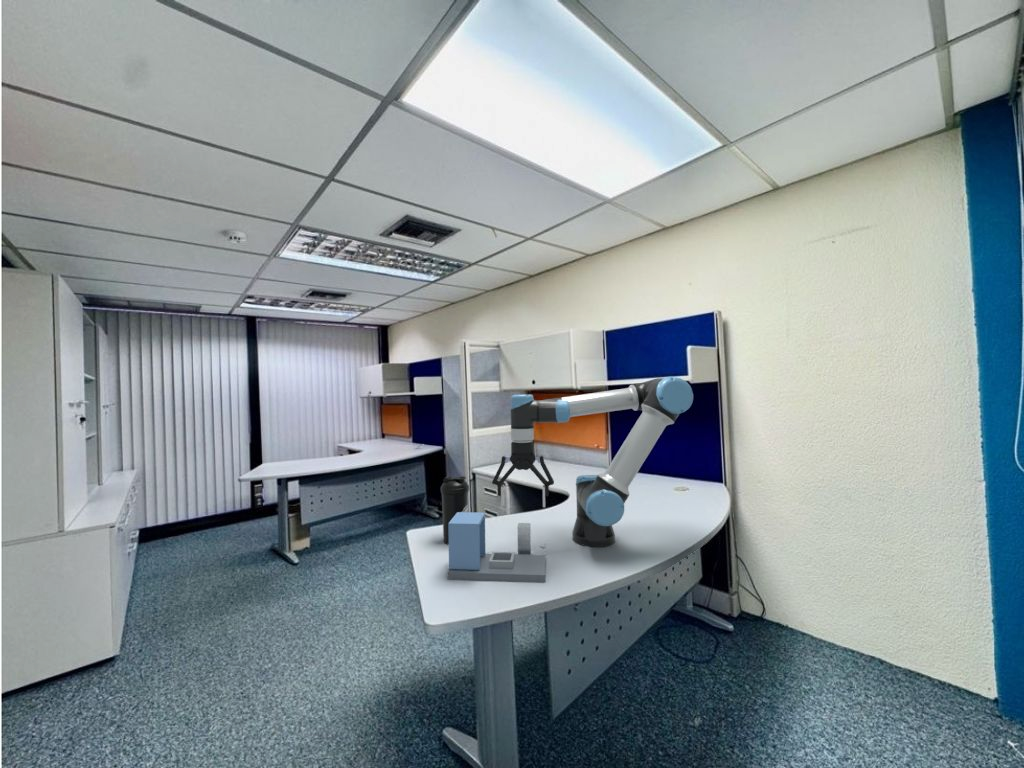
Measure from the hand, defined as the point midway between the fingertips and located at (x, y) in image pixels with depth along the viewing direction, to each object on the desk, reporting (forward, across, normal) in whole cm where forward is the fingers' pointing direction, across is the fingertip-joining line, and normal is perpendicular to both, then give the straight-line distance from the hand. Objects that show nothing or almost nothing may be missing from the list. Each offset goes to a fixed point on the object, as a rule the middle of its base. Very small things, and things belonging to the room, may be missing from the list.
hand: (523, 505), depth 131 cm
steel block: (+16, 0, 0) cm, 16 cm away
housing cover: (+14, +16, +11) cm, 24 cm away
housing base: (+16, +7, +11) cm, 21 cm away
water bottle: (+16, +26, -12) cm, 33 cm away
